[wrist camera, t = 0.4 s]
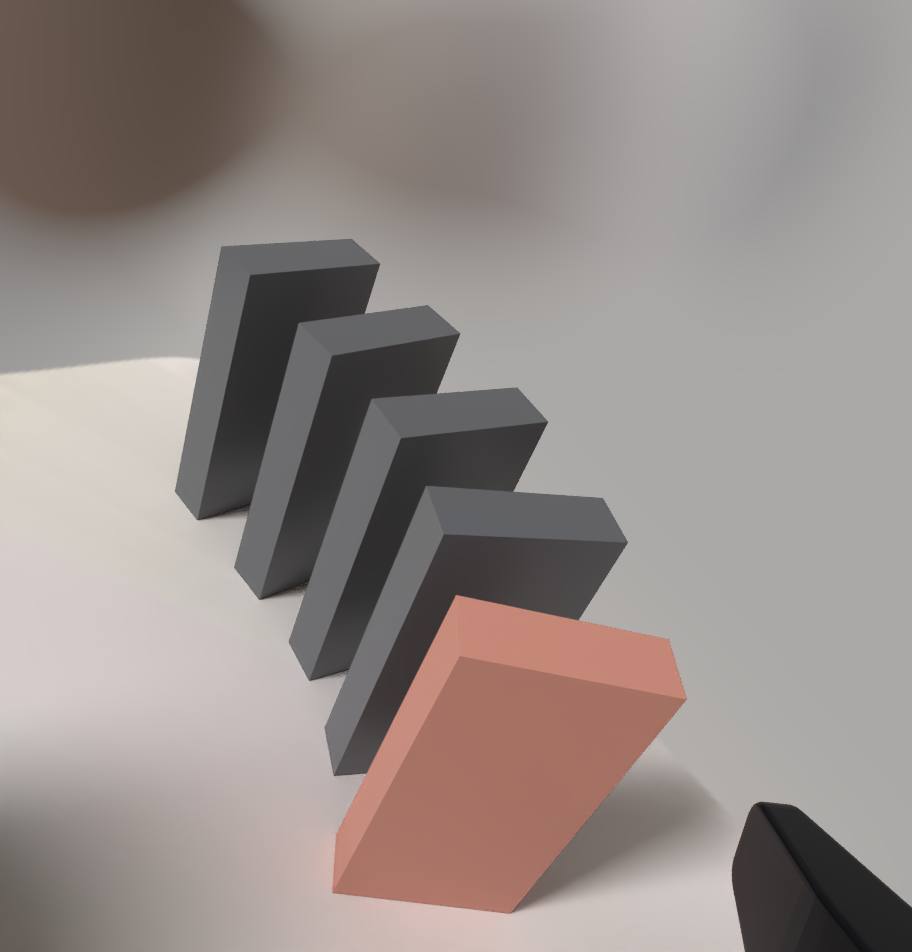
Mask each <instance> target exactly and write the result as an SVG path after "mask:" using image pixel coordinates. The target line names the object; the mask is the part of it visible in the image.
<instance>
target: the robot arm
mask: <svg viewBox="0 0 912 952" xmlns="http://www.w3.org/2000/svg"><path fill="white" fill-rule="evenodd" d="M732 884H733V890H734V896H735V901H736V906H737V912H738V917H739V922H740V928H741V933H742V938H743V944H744V949H745V952H912V907H911V906H909V905H908V904H907V903H906V902H905V901H904V900H903V899H901V898H900V897H899V896H898V895H897V894H896V893H895V892H893V891H892V890H891V889H890V888H889V887H888V886H886V885H885V884H884V883H883V882H882V881H881V880H880V879H879V878H877V877H876V876H875V875H874V874H873V873H872V872H871V871H870V870H868V869H867V868H866V867H865V866H864V865H863V864H861V863H860V862H859V861H858V860H857V859H856V858H855V857H854V856H852V855H851V854H850V853H849V852H848V851H847V850H846V849H844V848H843V847H842V846H841V845H840V844H839V843H838V842H836V841H835V840H834V839H833V838H832V837H831V836H830V835H829V834H827V833H826V832H825V831H824V830H823V829H822V828H821V827H819V826H818V825H817V824H816V823H815V822H814V821H813V820H811V819H810V818H809V817H808V816H807V815H806V814H804V813H803V812H802V811H801V810H800V809H798V808H797V807H795V806H792V805H788V804H778V803H769V802H758V803H756V804H754V805H753V807H752V808H751V810H750V812H749V814H748V817H747V820H746V823H745V826H744V829H743V832H742V835H741V838H740V841H739V844H738V847H737V850H736V853H735V856H734V860H733V865H732Z"/></svg>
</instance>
